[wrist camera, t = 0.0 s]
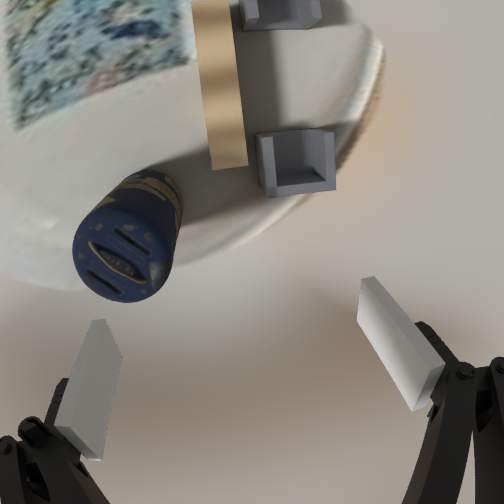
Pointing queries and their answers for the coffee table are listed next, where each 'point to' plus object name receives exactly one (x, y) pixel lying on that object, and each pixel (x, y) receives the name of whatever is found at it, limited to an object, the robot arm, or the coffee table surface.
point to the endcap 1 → (279, 14)
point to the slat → (219, 83)
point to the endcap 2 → (295, 162)
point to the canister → (130, 238)
